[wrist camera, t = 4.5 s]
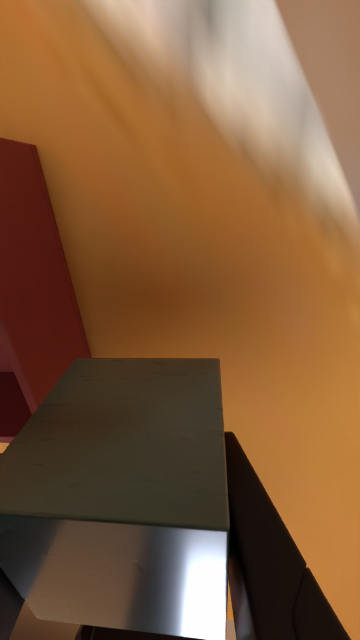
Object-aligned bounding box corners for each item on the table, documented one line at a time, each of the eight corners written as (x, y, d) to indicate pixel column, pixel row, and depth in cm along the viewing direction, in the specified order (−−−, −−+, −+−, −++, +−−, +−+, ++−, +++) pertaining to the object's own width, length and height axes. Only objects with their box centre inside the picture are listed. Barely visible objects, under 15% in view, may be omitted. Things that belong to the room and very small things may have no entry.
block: (219, 459, 10) (226, 642, 6) (102, 454, 10) (36, 620, 6) (219, 357, 8) (230, 529, 4) (75, 357, 8) (-44, 510, 4)
